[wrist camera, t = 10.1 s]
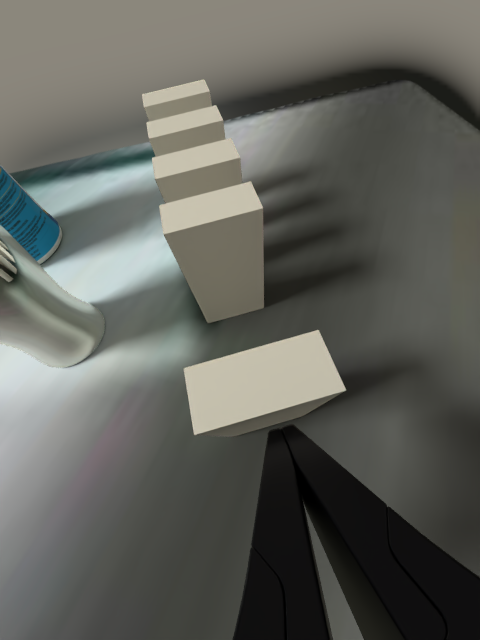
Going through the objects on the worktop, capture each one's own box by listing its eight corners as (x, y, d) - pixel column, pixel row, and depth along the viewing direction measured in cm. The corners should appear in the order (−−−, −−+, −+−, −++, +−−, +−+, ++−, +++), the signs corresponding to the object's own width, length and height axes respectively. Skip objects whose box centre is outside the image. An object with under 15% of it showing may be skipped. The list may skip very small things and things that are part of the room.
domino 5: (228, 207, 27) (209, 91, 18) (184, 218, 27) (144, 107, 18) (223, 195, 28) (204, 79, 19) (181, 205, 28) (142, 94, 19)
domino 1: (302, 416, 17) (346, 390, 8) (232, 436, 16) (194, 434, 7) (291, 385, 18) (318, 330, 9) (225, 404, 17) (183, 368, 8)
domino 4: (238, 235, 25) (222, 120, 16) (191, 247, 25) (148, 138, 16) (233, 220, 26) (216, 105, 17) (187, 232, 26) (146, 122, 17)
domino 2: (264, 308, 21) (263, 207, 12) (207, 323, 20) (163, 234, 12) (256, 287, 22) (250, 181, 13) (203, 302, 21) (158, 205, 13)
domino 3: (249, 268, 23) (240, 157, 14) (198, 282, 22) (155, 179, 14) (243, 251, 24) (231, 138, 15) (194, 264, 23) (151, 157, 15)
